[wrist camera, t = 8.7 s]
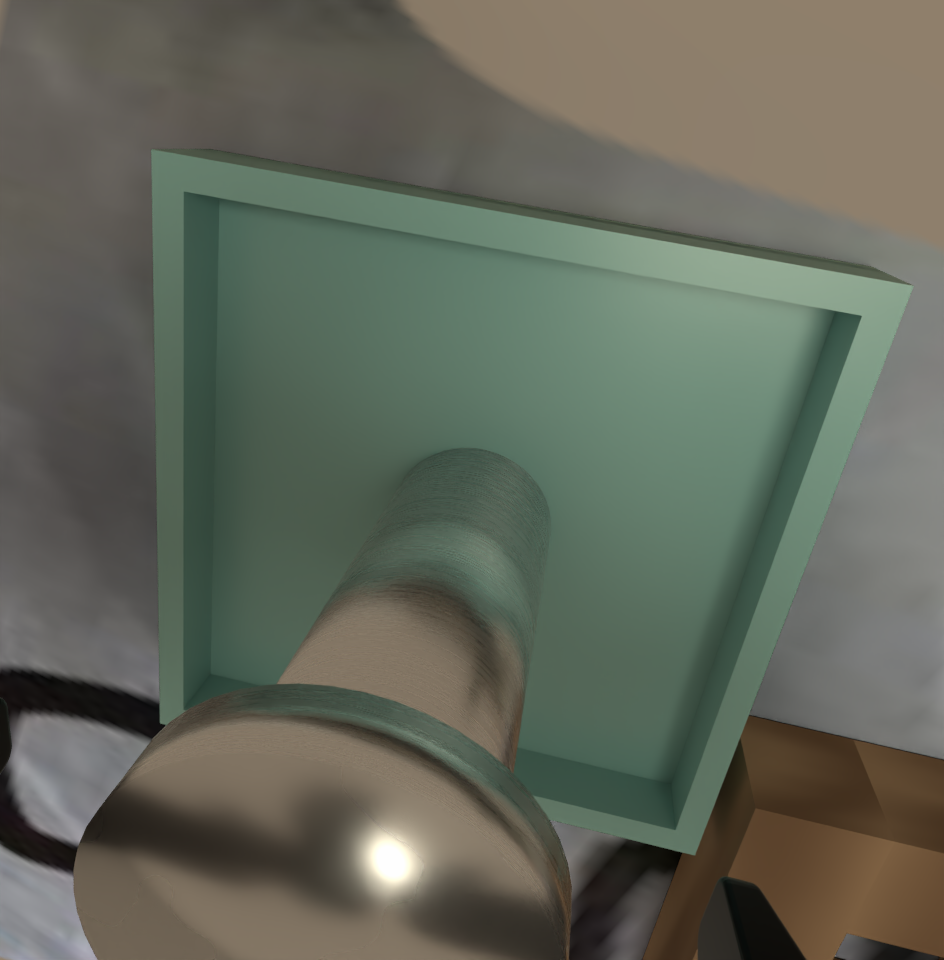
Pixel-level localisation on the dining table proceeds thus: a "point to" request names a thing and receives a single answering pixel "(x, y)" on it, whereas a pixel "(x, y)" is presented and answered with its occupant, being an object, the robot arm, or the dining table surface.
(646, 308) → the tray
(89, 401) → the dining table surface
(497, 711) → the steel pin
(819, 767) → the block
